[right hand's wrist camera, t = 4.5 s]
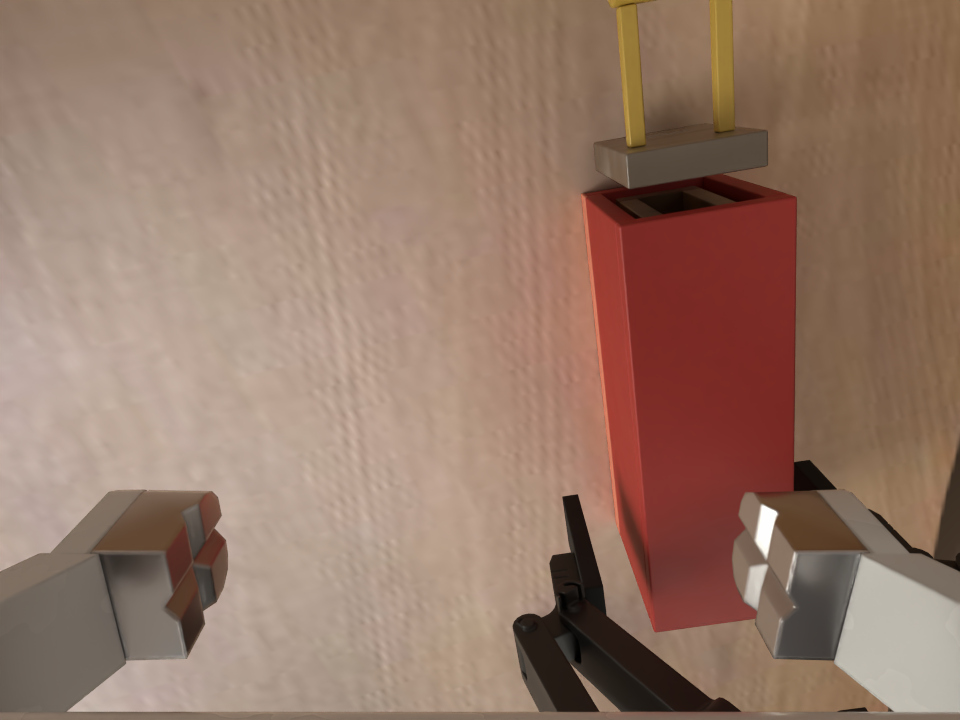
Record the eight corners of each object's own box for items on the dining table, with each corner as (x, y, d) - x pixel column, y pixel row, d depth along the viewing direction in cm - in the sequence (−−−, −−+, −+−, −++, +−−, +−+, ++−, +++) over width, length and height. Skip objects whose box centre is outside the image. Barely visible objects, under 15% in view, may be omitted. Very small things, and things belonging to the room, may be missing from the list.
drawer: (577, -20, 26) (608, -54, 20) (699, -42, 26) (767, -83, 20) (625, 479, 35) (658, 558, 29) (718, 465, 35) (770, 542, 29)
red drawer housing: (580, 193, 30) (618, 225, 23) (714, 171, 30) (798, 195, 22) (616, 523, 37) (654, 633, 29) (726, 507, 37) (793, 614, 29)
